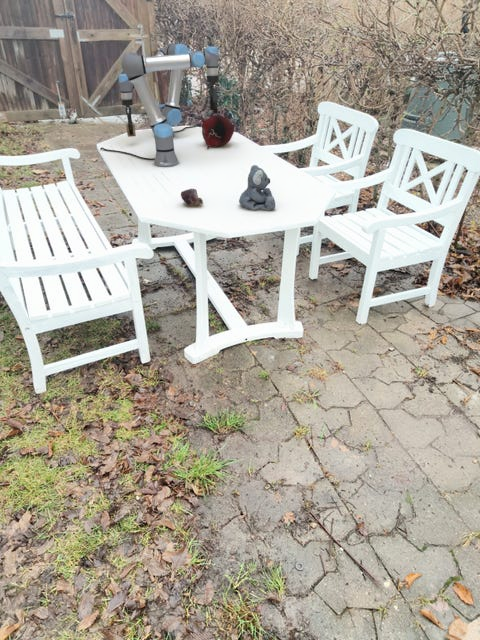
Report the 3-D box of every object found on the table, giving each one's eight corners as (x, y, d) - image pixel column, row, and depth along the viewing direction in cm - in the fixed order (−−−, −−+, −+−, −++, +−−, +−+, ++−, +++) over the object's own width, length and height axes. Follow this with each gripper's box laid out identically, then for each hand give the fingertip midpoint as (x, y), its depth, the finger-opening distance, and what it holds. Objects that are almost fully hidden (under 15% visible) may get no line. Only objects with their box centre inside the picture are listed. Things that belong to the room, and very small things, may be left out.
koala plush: (276, 211, 223) (277, 171, 212) (240, 212, 222) (240, 172, 211) (271, 199, 237) (272, 161, 226) (237, 200, 236) (237, 162, 225)
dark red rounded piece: (199, 121, 337) (198, 117, 314) (230, 114, 337) (230, 110, 313) (206, 150, 344) (205, 149, 321) (236, 143, 343) (237, 142, 320)
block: (127, 136, 328) (126, 124, 324) (127, 135, 332) (126, 123, 328) (135, 136, 329) (134, 124, 325) (135, 134, 333) (134, 123, 329)
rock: (196, 202, 238) (178, 205, 233) (194, 185, 234) (176, 188, 230) (205, 205, 228) (187, 208, 224) (203, 188, 224) (185, 191, 220)
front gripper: (221, 77, 273) (222, 115, 285) (215, 72, 294) (216, 108, 306) (209, 77, 272) (210, 115, 284) (204, 73, 292) (205, 108, 305)
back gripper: (132, 100, 310) (136, 136, 323) (132, 96, 325) (136, 131, 338) (121, 101, 309) (126, 136, 322) (121, 97, 324) (126, 131, 337)
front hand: (213, 111), depth 295 cm, fingers open, 13 cm apart
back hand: (131, 133), depth 330 cm, fingers closed on block, 5 cm apart
